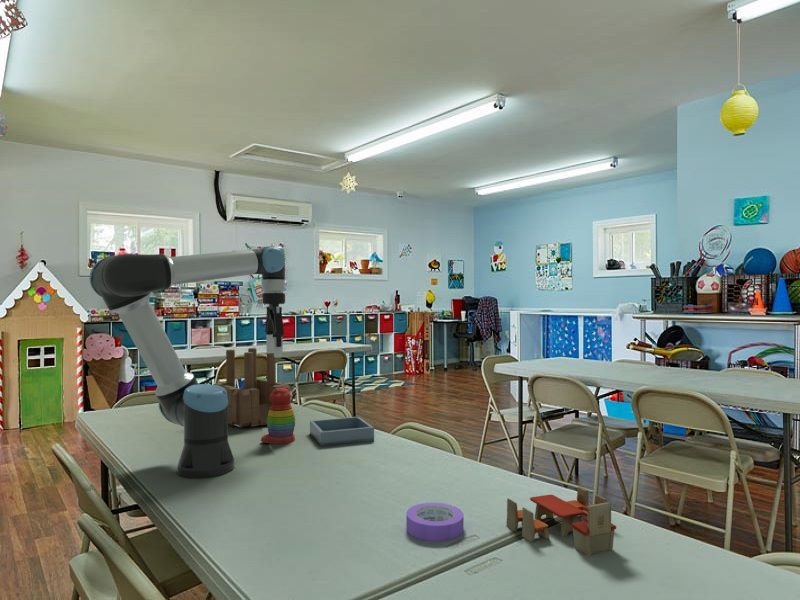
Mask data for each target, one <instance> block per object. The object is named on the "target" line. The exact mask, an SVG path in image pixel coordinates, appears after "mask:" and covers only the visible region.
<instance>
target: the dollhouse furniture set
mask: <svg viewBox="0 0 800 600" xmlns="http://www.w3.org/2000/svg"><path fill="white" fill-rule="evenodd" d="M576 492H577V494H576V499H575V500H573V499H572V500H568V501H566V500H564V499H562V498H559V497H558V496H556V495H554V494H544V495H543V494H542V495H538V496H531V497H529V500H530V501H531V502H533V503H534V504H535V505H536V506H535V513H534V512H532V511H531V510H529V509H527V508H526V507H522V508H521V509H518V504H517V502H515V501H514V500H513V499H511V498H507V500H506V525H505V526H506V527H507V528H508V529H510V530H511V531H513V532H517V531H518V527H519V523H520V522H521V524H522V529H521V530H522V531H521V538H523V539H524V540H527V541H528V542H529V543H534V541H535V535H536V533H537V535H538V536H540V537H542V538H543V539H545V540H548V539H550V533H549V529H548V527H549V525H548V524H547V523H545V522H543V521H541V520H542V516H545V517H546V518H547V519H551V518H554V515H555V516H556V517H559V518H560V519H561V527H560V534H559V535H560V537H561V536H562V537H567V536H568V534H569V533H570V532H572V534H573V544H574V545H573V546H574V549H576V551H579V552H581V553H582V554H584V555H586V556H588V557H589V556H592V554H597V553H601V552H605V551H613V548H614V540H615V539H614V537H615V531H616V529H617V525H615V524H613V523H612V503H610V502H608V501H607V498H606V497H603V496H602V495H600V494H595V497H594V504H589V492H590V491H589V489H586V488H584V487H583V486H580V485H578V486H577V491H576ZM579 516H581V519H580V521H579Z"/></svg>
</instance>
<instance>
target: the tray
mask: <svg viewBox="0 0 800 600" xmlns="http://www.w3.org/2000/svg"><path fill="white" fill-rule="evenodd" d="M309 434H310V435H311V436H312V437H313V439H314V440H315V441H316V443H317V444H318V445H319V446H320V447H328V446H337V445H338V446H339V445H348V444H356V443H365V442H375V427H374V425H373V426H372V424H371V423H368V422H367V421H366V420H364V419H363V418H361V417H360V416H350V417H340V418H338V417H337V418H328V419H316V420H309Z"/></svg>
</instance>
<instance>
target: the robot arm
mask: <svg viewBox="0 0 800 600" xmlns="http://www.w3.org/2000/svg"><path fill="white" fill-rule="evenodd" d="M285 255H286V254H285V249H284V248H283V247H281V246H269V245H268V246H263V247H262V248H257V249H256V248H255V249H244V250H232V251H223V252H222V251H221V252H211V253H200V254H199V253H198V254H189V255H188V254H186V255H177V256H167V255H166V254H164V253H159V254H139V253H122V254H117V255H110V256H107V257H106V256H105V257H104V258H101V259H100V260H98V261H97V262H95V264H94V265H93V266H92V268H91V270H90V273H89V283H90V286H91V288H92V290H93V291H94V292H95V293H96V294H97V295H98V296H99V297H101V298H102V300H103V302H104V304H105V305H106V307H107V309H108V311H109V312H112V313H114V314H115V313H116V314H117V315H118V316H119V318H120V319H121V321H122V323H123V325H124V327H125V329H126V331H127V332H128V334H129V336H130V338H131V340H132V342H133V344H134V346H135V347H136V349H137V352H138V353H139V354H140V357H141V358H142V361H143V362H144V364H145V366H146V367H147V370H148V371H149V374H150V375H151V377H152V379H153V381H154V382H155V384H156V386H157V387H156V389H155V391H154V394H155V396H156V398H157V400H158V409H159V412H160V413H161V415H162V416H163V418H164V419H165V420H167V421H168V422H170V423H172V424H175V425H178V426H181V427H183V447H182V450H181V453H180V457H179V460H178V463H177V475H178V476H180V477H182V478H186V479H204V478H205V479H207V478H213V477H219V476H222V475H225V474H227V473H230V472H232V471H233V470H234V469H235V458H234V454H233V451H232V449H231V446H230V443H229V440H228V439H229V438H228V437H229V436H228V431H229V428H228V427H229V426H228V425H229V424H228V398H227V391H226V390H225V389H224V388H223V387H221V386H218V385H213V384H211V383H201V384H199V383H198V381H197V378H196V377H195V374H193V373H192V372H189V371H188V372H187V371H186V369H185V368H184V366H183V363H182V361H181V360H180V358H179V356H178V354H177V352H176V351H175V349H174V347H173V345H172V343H171V340H170V339H169V336H168V335H167V333H166V331H165V329H164V327H163V325H162V324H161V322H160V320H159V317H158V316H157V313H156V312H155V310H154V308H153V306H152V304H151V302H150V298H151V295H152V293H154V292H158V291H164V290H169V289H170V288H171V287H172V286H173V285H182V284H189V283H197V282H205V281H206V282H207V281H213V280H220V279H226V278H227V279H229V278H236V277H242V276H243V277H244V276H252V275H259V276H260V275H261V278H262V279H261V285H262V286H261V290H262V292H263V294H262V296H261V297H262V299H261V300H262V304H263V305H268V306H266V309H265V310H266V317H265V329H264V332H265V334H266V335H265V336H266V338H265V339H266V341H265V342H266V354H267V353H274V357H276V358H283V356H284V355H283V354H284V352H283V349H284V348H283V346H284V345H283V344H284V343H283V342H284V341H283V337H284V335H285V331H284V320H283V307H282V306H280V305H284V304H285V303H286V293H284V292H285V291H286V286H287V282H286V256H285Z"/></svg>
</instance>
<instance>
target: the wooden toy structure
mask: <svg viewBox="0 0 800 600" xmlns="http://www.w3.org/2000/svg"><path fill="white" fill-rule="evenodd" d="M225 351H226V352H225V369H226V370H225V373H226V374H225V375H226V377H225V378H226V381H220V382H216V383H212V385H218V386H221V387H223V388H224V389H225V390H226V391H227V398H228V425H231V426H234V425H237V426H239V427H241V428H242V427H248V426H251V427H254V426H264V425H266V426H267V417H268V412H269V409H270V406H271V405H273V404H272V403H271V401H270V398H269V397H270V394H271V393H272V392H273V390H275V389H277V388H285V387H288V388H289V392H290V394H291V388H290V385H289V384H287V383H284V382H281V381H277V378H276V377H277V375H276V374H277V372H276V371H277V367H276V366H277V364H276V362H277V361H276V360H277V357H274V353H267V352H266V379H263V378H258V376H257V375H258V374H257V373H258V371H257V369H258V368H257V363H258V362H257V359H258V357H257V355H258V354H257V348H256V347H249V348H247V351H246V352H244V353H243V359H244V360H243V361H244V362H243V366H244V367H243V369H244V370H243V371H244V373H243V374H244V376H243V377H244V379H243V380H242V388H239V387H236V356H235V355H236V352H235V351H236V350H235V349H226V350H225ZM291 399H292V398H291ZM291 399H290V402H289V404H290V405H291V406H292V404H291V402H292V401H291Z"/></svg>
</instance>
